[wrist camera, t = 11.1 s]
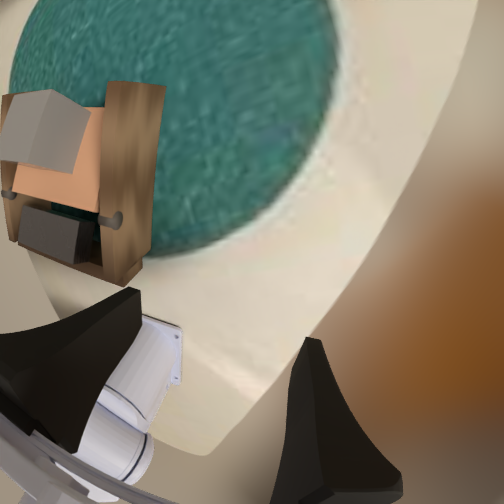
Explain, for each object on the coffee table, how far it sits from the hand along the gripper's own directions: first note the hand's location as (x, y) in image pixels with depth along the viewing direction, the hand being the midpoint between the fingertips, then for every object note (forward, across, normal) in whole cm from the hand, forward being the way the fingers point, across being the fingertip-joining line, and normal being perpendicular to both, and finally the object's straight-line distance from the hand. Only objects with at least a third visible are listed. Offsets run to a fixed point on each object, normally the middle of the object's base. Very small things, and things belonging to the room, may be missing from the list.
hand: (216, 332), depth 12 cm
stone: (+7, +15, -5) cm, 17 cm away
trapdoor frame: (+10, +15, -2) cm, 18 cm away
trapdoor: (+8, +15, -2) cm, 17 cm away
